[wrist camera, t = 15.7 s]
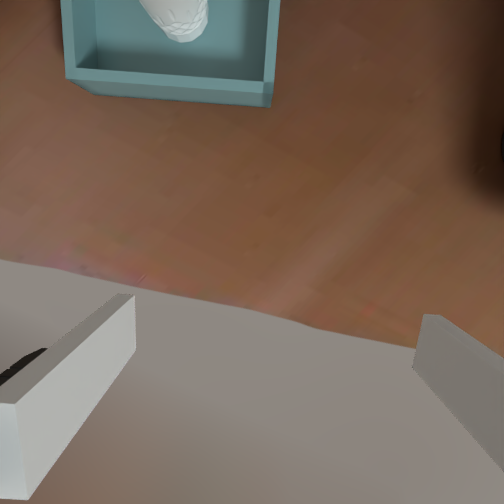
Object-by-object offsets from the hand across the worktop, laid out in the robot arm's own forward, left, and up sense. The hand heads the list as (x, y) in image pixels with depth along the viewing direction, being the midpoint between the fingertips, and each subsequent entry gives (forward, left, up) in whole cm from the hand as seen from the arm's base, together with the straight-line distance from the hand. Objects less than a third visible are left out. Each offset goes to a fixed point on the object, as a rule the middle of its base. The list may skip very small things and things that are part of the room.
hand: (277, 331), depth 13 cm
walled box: (+12, -27, -31) cm, 43 cm away
